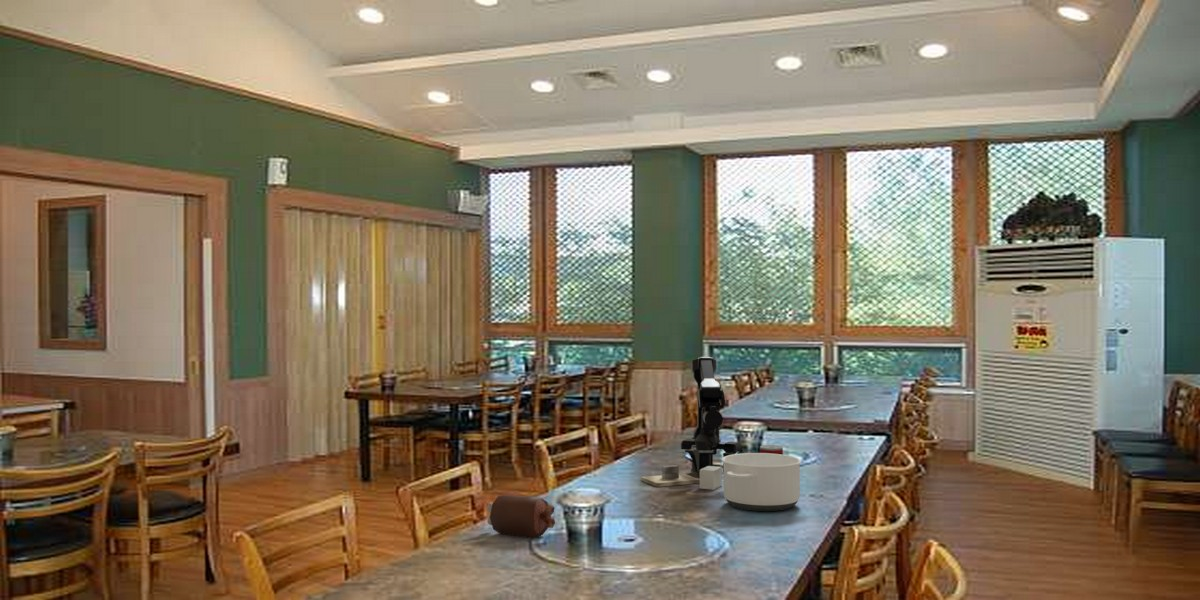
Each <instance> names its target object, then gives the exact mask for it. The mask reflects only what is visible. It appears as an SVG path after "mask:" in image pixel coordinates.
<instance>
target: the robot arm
mask: <svg viewBox="0 0 1200 600" xmlns="http://www.w3.org/2000/svg"><path fill="white" fill-rule="evenodd" d="M690 372H691V373H692V377H693V379H694V381H695V382H696V384H697V385H696V386H697V387H696V388H697V397H696V398H697V399H696V400H697V406H696V407H697V408H696V409H697V417H696V418H697V421H696V422H697V423H696V424H697V425H696V427H695V428H694V430H693V431H692V437H690V438H686V439H682V441H681V443H680V449H681V450H684V452H685V453H687V454H688V455H689V456H690V458H691V469H690V470H691V472H695V473H697V474H700V469H702V468H704V467H707V466H714V459H713V458H714V456H715V455H718V454H717V452H718V451H717V450H723V451H724V452H722V458H723V457H725V456H728V455H733V454H738V453H739V452H741V451H742V446H741V443H740V442H739V441H727V442H725V443H721V439H720V431H721V429H722V428H721V427H722V424H723V422H724V417H723V414H722V413H721V412H720V408H725V405H726V399H725V398H726V397H725V392H724V391H723V388H721V384H720V383H719V382H718V381H717V380H716V378H715V373H716V372H717V360H716V359H714V357H711V356H700V357H698V358H696V359H693V360H691V364H690ZM722 475H724V467H723V466H722Z"/></svg>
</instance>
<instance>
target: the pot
mask: <svg viewBox="0 0 1200 600" xmlns="http://www.w3.org/2000/svg"><path fill="white" fill-rule="evenodd" d="M721 462H722V468H723V467H724V474H723V497H724V499H725V501H726V502H727V503H728V504H729V505H730V506H733V507H734V508H737V509H740V510H745V511H753V512H777V511H784V510H788V509H791V508H792V507H794V506H796V504H797V503H798V502H799V500H800V495H801V494H800V493H801V492H800V491H801V487H800V486H801V485H800V484H801V479H800V478H801V476H800V475H801V474H800V473H801V472H800V471H801V470H800V465H801V464H802V460H801V459H800V458H798V457H795V456H793V455H788V454H783V455H782V454H772V453H760V452H745V453H743V452H742V453H736V454H733V455H728V456H725V457H723V456H722V458H721Z"/></svg>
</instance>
